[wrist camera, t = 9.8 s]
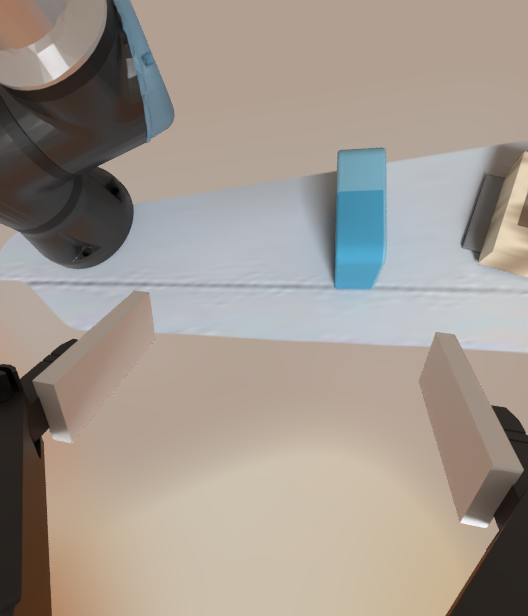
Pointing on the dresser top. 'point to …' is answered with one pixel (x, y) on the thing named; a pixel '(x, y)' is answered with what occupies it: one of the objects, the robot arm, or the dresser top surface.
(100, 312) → the dresser top surface
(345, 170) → the data package
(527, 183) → the maple block
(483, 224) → the charcoal mat
